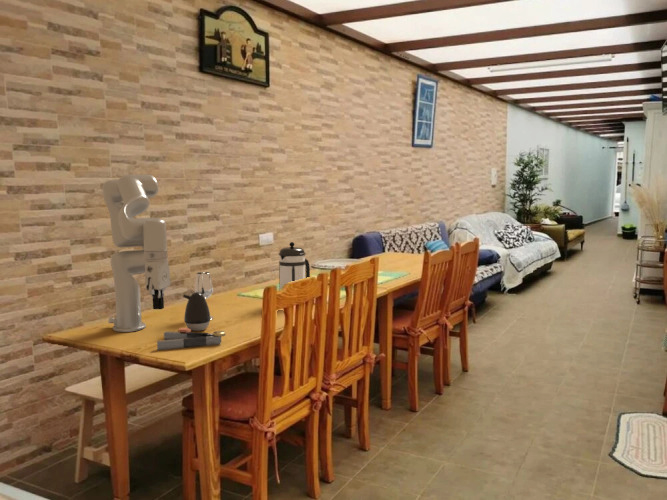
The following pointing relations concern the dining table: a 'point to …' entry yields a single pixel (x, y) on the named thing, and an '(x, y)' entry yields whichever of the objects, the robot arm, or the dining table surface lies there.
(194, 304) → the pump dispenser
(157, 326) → the dining table surface
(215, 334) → the tongs fixed arm
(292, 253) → the coffee press
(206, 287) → the wineglass
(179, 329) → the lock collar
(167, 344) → the tongs moving arm
